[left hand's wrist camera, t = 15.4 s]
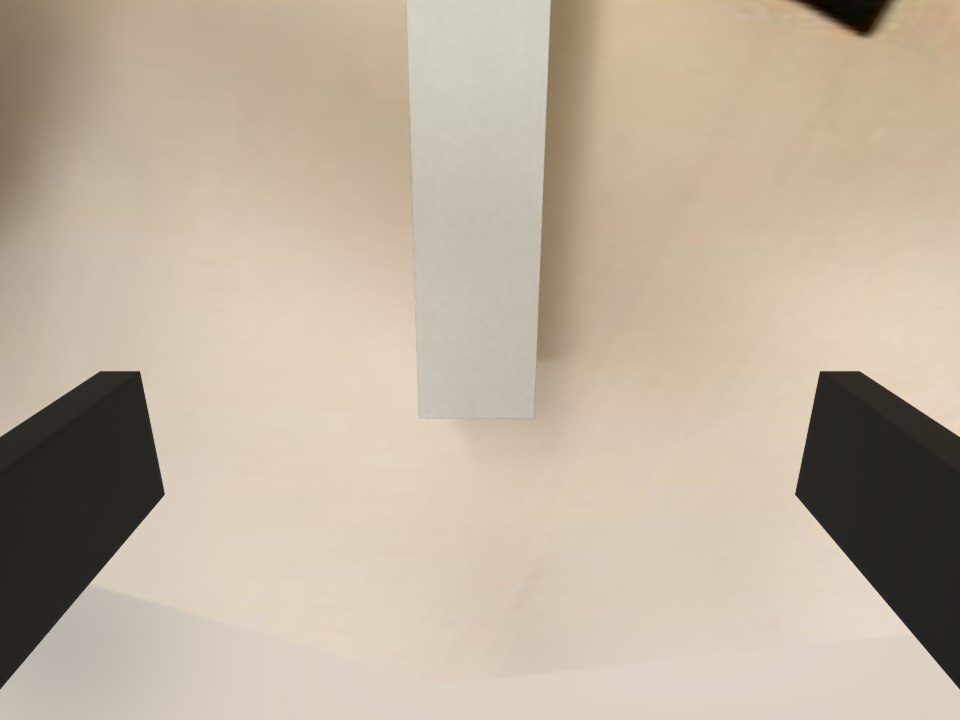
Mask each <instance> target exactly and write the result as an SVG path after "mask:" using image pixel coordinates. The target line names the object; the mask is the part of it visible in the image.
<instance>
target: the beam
mask: <svg viewBox="0 0 960 720" xmlns="http://www.w3.org/2000/svg"><path fill="white" fill-rule="evenodd" d="M406 11H407V44H408V77H409V111H410V144H411V177H412V211H413V244H414V277H415V311H416V344H417V377H418V411H419V418H441V419H534V409H535V384H536V359H537V334H538V310H539V285H540V260H541V235H542V210H543V185H544V160H545V136H546V111H547V86H548V61H549V36H550V11H551V0H406Z"/></svg>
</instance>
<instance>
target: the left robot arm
mask: <svg viewBox="0 0 960 720" xmlns="http://www.w3.org/2000/svg"><path fill="white" fill-rule="evenodd" d="M164 495H165V493H164V488H163V483H162V478H161V473H160V468H159V463H158V458H157V453H156V448H155V443H154V439H153V434H152V429H151V424H150V419H149V414H148V409H147V404H146V399H145V394H144V389H143V384H142V379H141V374H140V371H100V372H99V373H97V374H96V375H94V376H92V377H91V378H89V379H88V380H86V381H85V382H83V383H82V384H80V385H79V386H77V387H76V388H74V389H73V390H71V391H70V392H68V393H67V394H65V395H64V396H62V397H61V398H59V399H58V400H56V401H54V402H53V403H51V404H50V405H48V406H47V407H45V408H44V409H42V410H41V411H39V412H38V413H36V414H35V415H33V416H32V417H30V418H29V419H27V420H26V421H24V422H23V423H21V424H20V425H18V426H16V427H15V428H13V429H12V430H10V431H9V432H7V433H6V434H4V435H3V436H1V437H0V689H1V688H2V687H3V685H4V684H5V683H6V682H7V681H8V679H9V678H10V677H11V676H12V675H13V674H14V672H15V671H16V670H17V669H18V668H19V666H20V665H21V664H22V663H23V662H24V661H25V659H26V658H27V657H28V656H29V655H30V653H31V652H32V651H33V650H34V649H35V648H36V646H37V645H38V644H39V643H40V642H41V640H42V639H43V638H44V637H45V636H46V635H47V633H48V632H49V631H50V630H51V629H52V627H53V626H54V625H55V624H56V623H57V622H58V620H59V619H60V618H61V617H62V616H63V614H64V613H65V612H66V611H67V610H68V608H69V607H70V606H71V605H72V604H73V603H74V601H75V600H76V599H77V598H78V597H79V595H80V594H81V593H82V592H83V591H84V590H85V588H86V587H87V586H88V585H89V584H90V582H91V581H92V580H93V579H94V578H95V577H96V575H97V574H98V573H99V572H100V571H101V569H102V568H103V567H104V566H105V565H106V564H107V562H108V561H109V560H110V559H111V558H112V556H113V555H114V554H115V553H116V552H117V551H118V549H119V548H120V547H121V546H122V545H123V543H124V542H125V541H126V540H127V539H128V538H129V536H130V535H131V534H132V533H133V532H134V530H135V529H136V528H137V527H138V526H139V524H140V523H141V522H142V521H143V520H144V519H145V517H146V516H147V515H148V514H149V513H150V511H151V510H152V509H153V508H154V507H155V506H156V504H157V503H158V502H159V501H160V500H161V498H162V497H163V496H164ZM795 495H796V496H797V497H798V498H799V500H800V501H801V502H802V503H803V504H804V506H805V507H806V508H807V509H808V510H809V511H810V513H811V514H812V515H813V516H814V517H815V519H816V520H817V521H818V522H819V523H820V524H821V526H822V527H823V528H824V529H825V530H826V532H827V533H828V534H829V535H830V536H831V538H832V539H833V540H834V541H835V542H836V543H837V545H838V546H839V547H840V548H841V549H842V551H843V552H844V553H845V554H846V555H847V556H848V558H849V559H850V560H851V561H852V562H853V564H854V565H855V566H856V567H857V568H858V569H859V571H860V572H861V573H862V574H863V575H864V577H865V578H866V579H867V580H868V581H869V582H870V584H871V585H872V586H873V587H874V588H875V590H876V591H877V592H878V593H879V594H880V595H881V597H882V598H883V599H884V600H885V601H886V603H887V604H888V605H889V606H890V607H891V608H892V610H893V611H894V612H895V613H896V614H897V616H898V617H899V618H900V619H901V620H902V622H903V623H904V624H905V625H906V626H907V627H908V629H909V630H910V631H911V632H912V633H913V635H914V636H915V637H916V638H917V639H918V640H919V642H920V643H921V644H922V645H923V646H924V648H925V649H926V650H927V651H928V652H929V653H930V655H931V656H932V657H933V658H934V659H935V660H936V662H937V663H938V664H939V665H940V666H941V668H942V669H943V670H944V671H945V672H946V674H947V675H948V676H949V677H950V678H951V679H952V681H953V682H954V683H955V684H956V685H957V686H958V688H959V689H960V437H959V436H957V435H956V434H954V433H953V432H951V431H950V430H948V429H947V428H945V427H944V426H942V425H940V424H939V423H937V422H936V421H934V420H933V419H931V418H930V417H928V416H927V415H925V414H924V413H922V412H921V411H919V410H918V409H916V408H915V407H913V406H912V405H910V404H909V403H907V402H906V401H904V400H902V399H901V398H899V397H898V396H896V395H895V394H893V393H892V392H890V391H889V390H887V389H886V388H884V387H883V386H881V385H880V384H878V383H877V382H875V381H874V380H872V379H871V378H869V377H868V376H866V375H864V374H863V373H861V372H860V371H820V374H819V379H818V384H817V389H816V394H815V399H814V404H813V409H812V414H811V419H810V424H809V429H808V434H807V439H806V443H805V448H804V453H803V458H802V463H801V468H800V473H799V478H798V483H797V488H796V493H795Z"/></svg>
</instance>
